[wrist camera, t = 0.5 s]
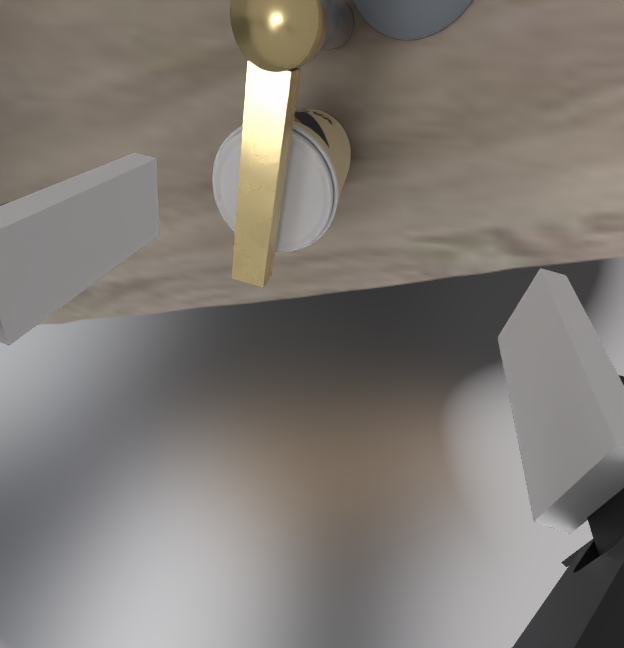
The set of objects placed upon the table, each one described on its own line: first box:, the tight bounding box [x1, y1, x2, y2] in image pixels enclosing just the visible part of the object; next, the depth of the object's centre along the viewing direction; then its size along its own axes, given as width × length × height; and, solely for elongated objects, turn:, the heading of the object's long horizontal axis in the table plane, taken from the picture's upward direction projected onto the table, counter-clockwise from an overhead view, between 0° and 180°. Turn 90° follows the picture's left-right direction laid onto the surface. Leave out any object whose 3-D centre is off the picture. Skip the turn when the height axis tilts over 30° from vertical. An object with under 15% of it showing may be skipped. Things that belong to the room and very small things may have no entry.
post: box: [319, 0, 354, 51], centre depth 27 cm, size 3×3×12 cm
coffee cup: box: [213, 109, 351, 252], centre depth 33 cm, size 9×9×12 cm
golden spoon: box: [230, 0, 328, 288], centre depth 25 cm, size 4×18×3 cm, turn 170°
